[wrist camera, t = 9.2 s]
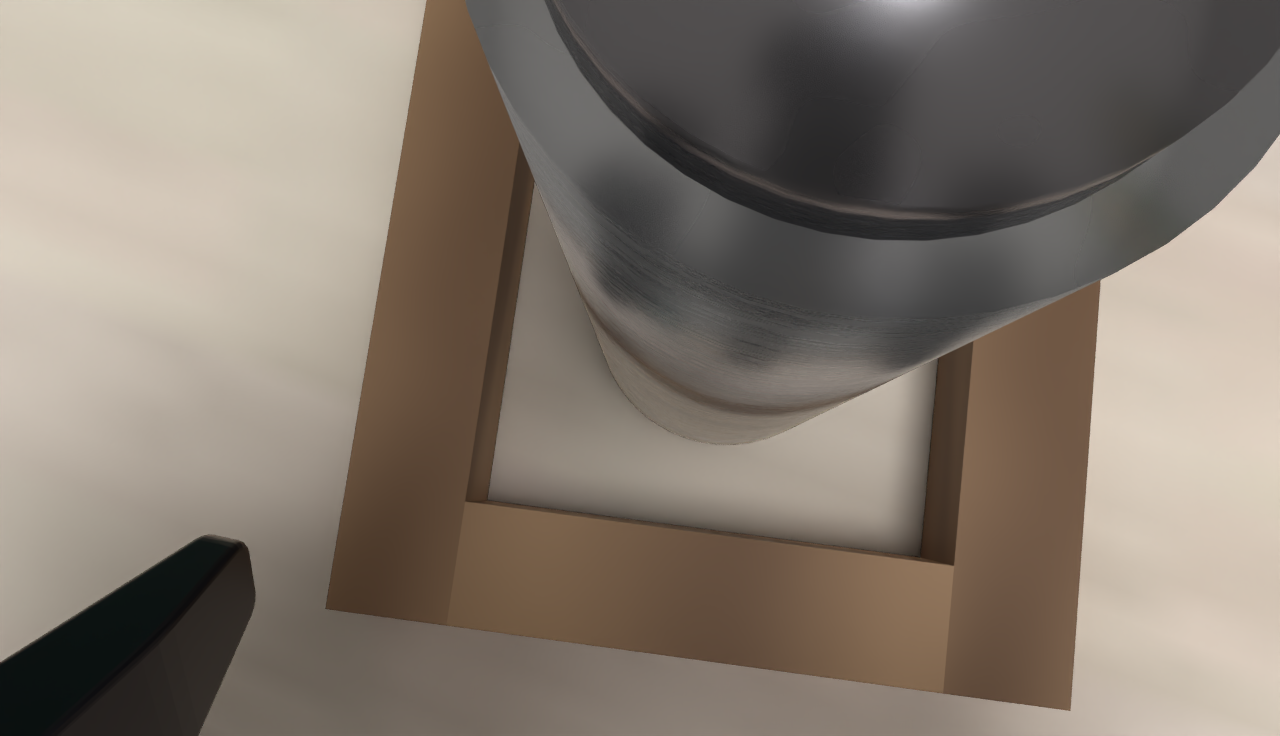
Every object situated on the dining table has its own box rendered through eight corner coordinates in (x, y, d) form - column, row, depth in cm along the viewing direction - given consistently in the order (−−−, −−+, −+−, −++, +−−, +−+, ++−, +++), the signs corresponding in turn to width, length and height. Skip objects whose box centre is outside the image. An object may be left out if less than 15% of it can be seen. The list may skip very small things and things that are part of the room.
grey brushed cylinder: (643, 478, 18) (594, 434, 4) (567, 238, 18) (308, -480, 5) (888, 399, 18) (1617, 108, 4) (805, 162, 18) (1210, -746, 5)
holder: (363, 595, 17) (325, 609, 15) (462, -17, 19) (439, -76, 17) (1022, 684, 17) (1070, 710, 15) (1071, 51, 19) (1119, -2, 17)
